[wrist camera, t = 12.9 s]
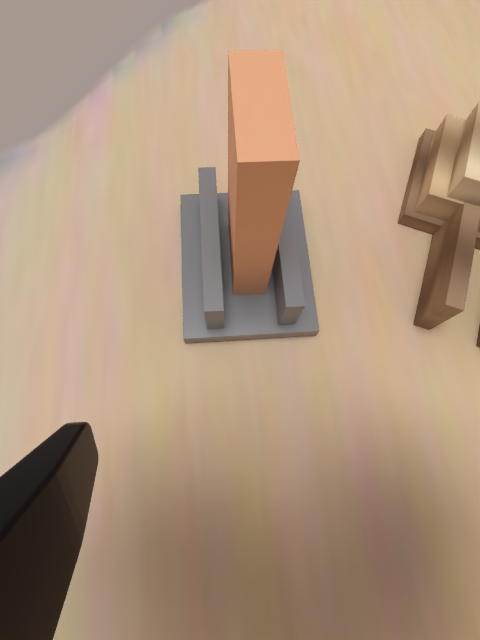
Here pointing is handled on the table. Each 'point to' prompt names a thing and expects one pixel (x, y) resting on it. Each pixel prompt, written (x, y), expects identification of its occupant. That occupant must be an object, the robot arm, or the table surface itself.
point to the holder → (216, 279)
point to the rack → (446, 213)
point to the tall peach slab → (258, 164)
